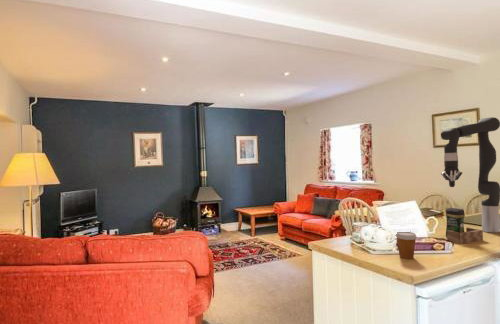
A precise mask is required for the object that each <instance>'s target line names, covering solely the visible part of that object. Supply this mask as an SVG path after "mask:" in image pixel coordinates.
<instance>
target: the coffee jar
mask: <svg viewBox="0 0 500 324" xmlns="http://www.w3.org/2000/svg"><path fill="white" fill-rule="evenodd" d="M445 216H446V229H445V238H447V230H450V231H455V232H460V233H461V232H465V225H464V222H465V210H464V209H461V208H455V207H447V208H445Z"/></svg>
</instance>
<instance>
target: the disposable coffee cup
mask: <svg viewBox="0 0 500 324" xmlns="http://www.w3.org/2000/svg"><path fill="white" fill-rule="evenodd" d="M395 237H396V241H397V242H396V243H397V248H398V253H399V258H401V259H405V260H413V259H414V255H415V247H416V239H417V238H418V237H417V235H416V232H411V231H410V232H397V234H396V235H395Z"/></svg>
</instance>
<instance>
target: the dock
mask: <svg viewBox="0 0 500 324" xmlns="http://www.w3.org/2000/svg"><path fill="white" fill-rule="evenodd" d="M465 229H466V231H464V232H461V233H460V232H455V231H450V230H447V237H446V241H447V240H449V241H448V242H451V241H452V243H456V244H460V245H463V244H469V243H475V242H482V241H483V240H484V235H483V234H484V233H483V232H484V231H483V230H482V229H478V228H473V227H466V228H465Z"/></svg>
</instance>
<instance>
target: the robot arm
mask: <svg viewBox="0 0 500 324" xmlns="http://www.w3.org/2000/svg"><path fill="white" fill-rule="evenodd" d="M498 129H500V120H499V119H498V118H497V117H485V118H481V119H479V120H478V121H477V122H475V123H469V124H464V125H461V126H460V125H459V126H457V127H452V128H446V129H444V130H442V131H441V133H440V138H441V139H442V140H444V141H448V143H446V144H445V145H444V147H443V149H444V154H443V155H444V156H443V163H444V165H443V167H444V170H443V171H442V172H441V173H440V175H441V176H442V177H443V178H444V180H445V181H448V186H449V187H450V188H454V187H455V185H456V181H458V180H459V179H460V178H461V176H462V174H463V172H462V171H460V170H459V156H458V144H459V140H460V138H464V137H467V136H471V135H475V134H477V136H478V164H479V165H478V166H479V167H478V168H479V169H478V171H479V173H478V182H477V189H478V190H477V191H478V192H479V194H480V195H485V196H488V198H487V199H483V200H481V202H480V203H481V204H480V205H481V230H483V232H485V233H494V234H495V233H497V234H498V233H500V205H499V204H500V182H497V181H495V180H494V181H493V180H492V181H491V180H489V174H490V172H491V171H492V169H493V168H494V166H495V165H496V162H497V151H496V148H495V146H494V145H493V144H492V142H491V140H490V137H489V136H490V135H489V133H490V132H495V131H497V130H498Z"/></svg>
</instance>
